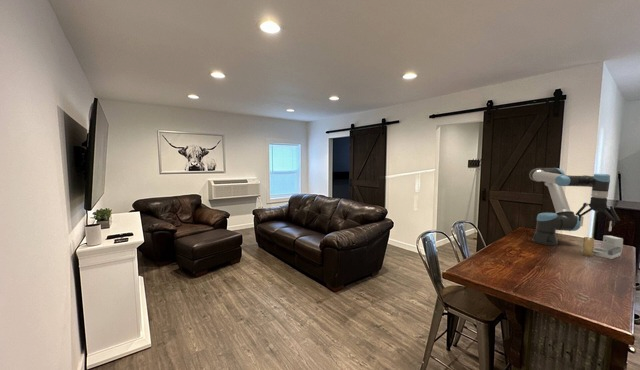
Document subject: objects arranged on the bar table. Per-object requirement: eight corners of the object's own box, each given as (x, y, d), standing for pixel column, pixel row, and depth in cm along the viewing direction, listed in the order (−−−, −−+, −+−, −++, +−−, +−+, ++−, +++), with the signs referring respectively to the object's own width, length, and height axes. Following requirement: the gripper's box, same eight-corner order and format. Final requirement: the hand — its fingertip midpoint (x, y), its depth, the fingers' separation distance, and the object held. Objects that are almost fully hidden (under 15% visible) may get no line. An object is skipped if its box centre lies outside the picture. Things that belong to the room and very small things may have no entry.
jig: (581, 251, 184) (581, 244, 183) (590, 248, 190) (591, 241, 190) (611, 259, 170) (612, 251, 170) (620, 255, 177) (621, 247, 176)
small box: (622, 253, 181) (623, 238, 180) (613, 253, 181) (615, 238, 180) (609, 249, 189) (611, 235, 188) (601, 249, 189) (603, 235, 188)
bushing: (580, 254, 178) (582, 237, 177) (583, 253, 180) (585, 236, 179) (590, 257, 173) (592, 239, 172) (593, 256, 176) (595, 238, 174)
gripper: (571, 195, 180) (568, 224, 183) (626, 200, 159) (621, 234, 162) (575, 194, 184) (571, 223, 187) (629, 199, 163) (624, 232, 166)
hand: (595, 228), depth 174 cm, fingers open, 13 cm apart
